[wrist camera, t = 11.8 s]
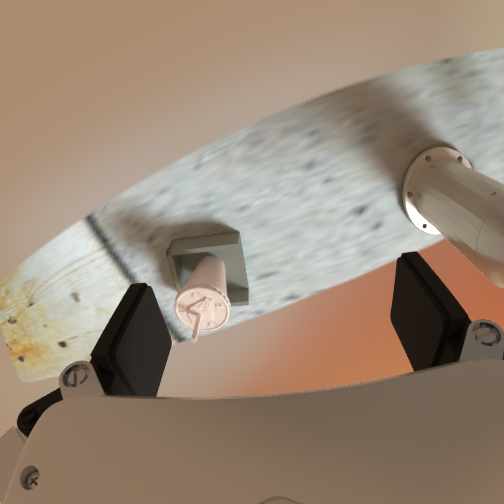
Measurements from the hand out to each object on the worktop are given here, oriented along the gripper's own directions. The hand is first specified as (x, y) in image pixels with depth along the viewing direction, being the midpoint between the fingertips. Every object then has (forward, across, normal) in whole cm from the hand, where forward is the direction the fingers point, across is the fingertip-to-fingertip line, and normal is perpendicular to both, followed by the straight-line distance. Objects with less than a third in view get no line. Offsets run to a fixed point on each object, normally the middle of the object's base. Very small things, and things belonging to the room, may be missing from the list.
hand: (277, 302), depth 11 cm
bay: (+28, +9, +14) cm, 33 cm away
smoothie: (+28, +9, +13) cm, 32 cm away
